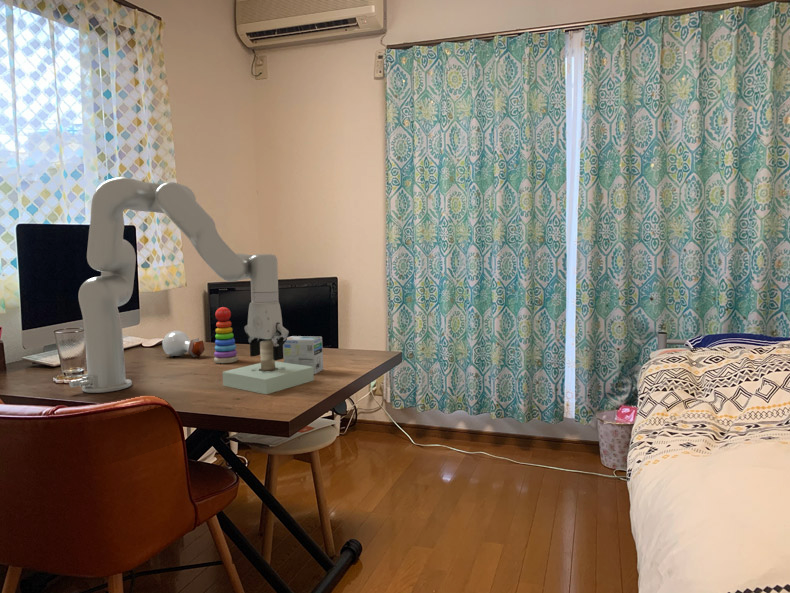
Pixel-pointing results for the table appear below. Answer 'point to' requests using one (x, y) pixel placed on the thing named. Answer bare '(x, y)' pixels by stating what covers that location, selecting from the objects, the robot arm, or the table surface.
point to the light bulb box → (304, 351)
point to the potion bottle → (182, 344)
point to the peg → (267, 356)
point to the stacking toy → (224, 338)
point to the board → (268, 377)
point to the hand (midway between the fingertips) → (266, 357)
